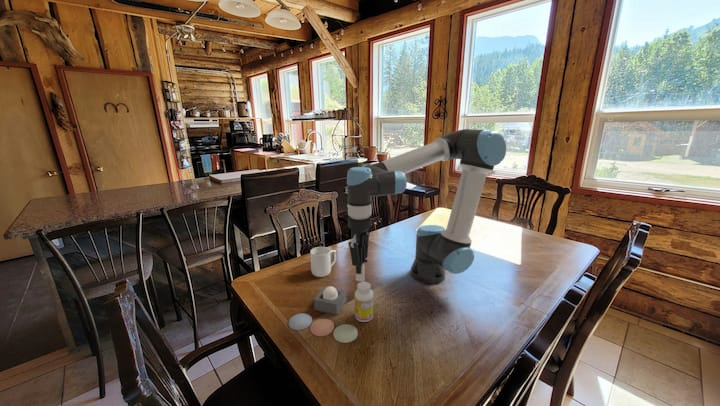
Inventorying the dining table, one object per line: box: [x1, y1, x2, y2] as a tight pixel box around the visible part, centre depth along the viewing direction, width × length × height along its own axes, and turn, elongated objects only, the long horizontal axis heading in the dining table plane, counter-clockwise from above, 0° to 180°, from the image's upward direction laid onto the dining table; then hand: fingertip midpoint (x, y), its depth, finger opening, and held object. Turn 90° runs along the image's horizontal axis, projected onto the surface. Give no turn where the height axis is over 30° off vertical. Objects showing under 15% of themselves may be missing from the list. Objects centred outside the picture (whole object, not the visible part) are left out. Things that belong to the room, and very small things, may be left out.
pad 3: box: [332, 323, 359, 344], centre depth 94 cm, size 8×8×1 cm
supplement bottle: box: [354, 281, 375, 323], centre depth 100 cm, size 7×7×13 cm
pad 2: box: [309, 318, 335, 337], centre depth 96 cm, size 8×8×1 cm
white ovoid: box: [323, 286, 338, 301], centre depth 107 cm, size 6×6×7 cm
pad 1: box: [288, 313, 313, 331], centre depth 99 cm, size 8×8×1 cm
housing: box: [313, 286, 347, 316], centre depth 107 cm, size 9×9×4 cm
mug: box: [310, 246, 337, 278], centre depth 130 cm, size 12×9×11 cm
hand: (360, 280), depth 98 cm, fingers closed
